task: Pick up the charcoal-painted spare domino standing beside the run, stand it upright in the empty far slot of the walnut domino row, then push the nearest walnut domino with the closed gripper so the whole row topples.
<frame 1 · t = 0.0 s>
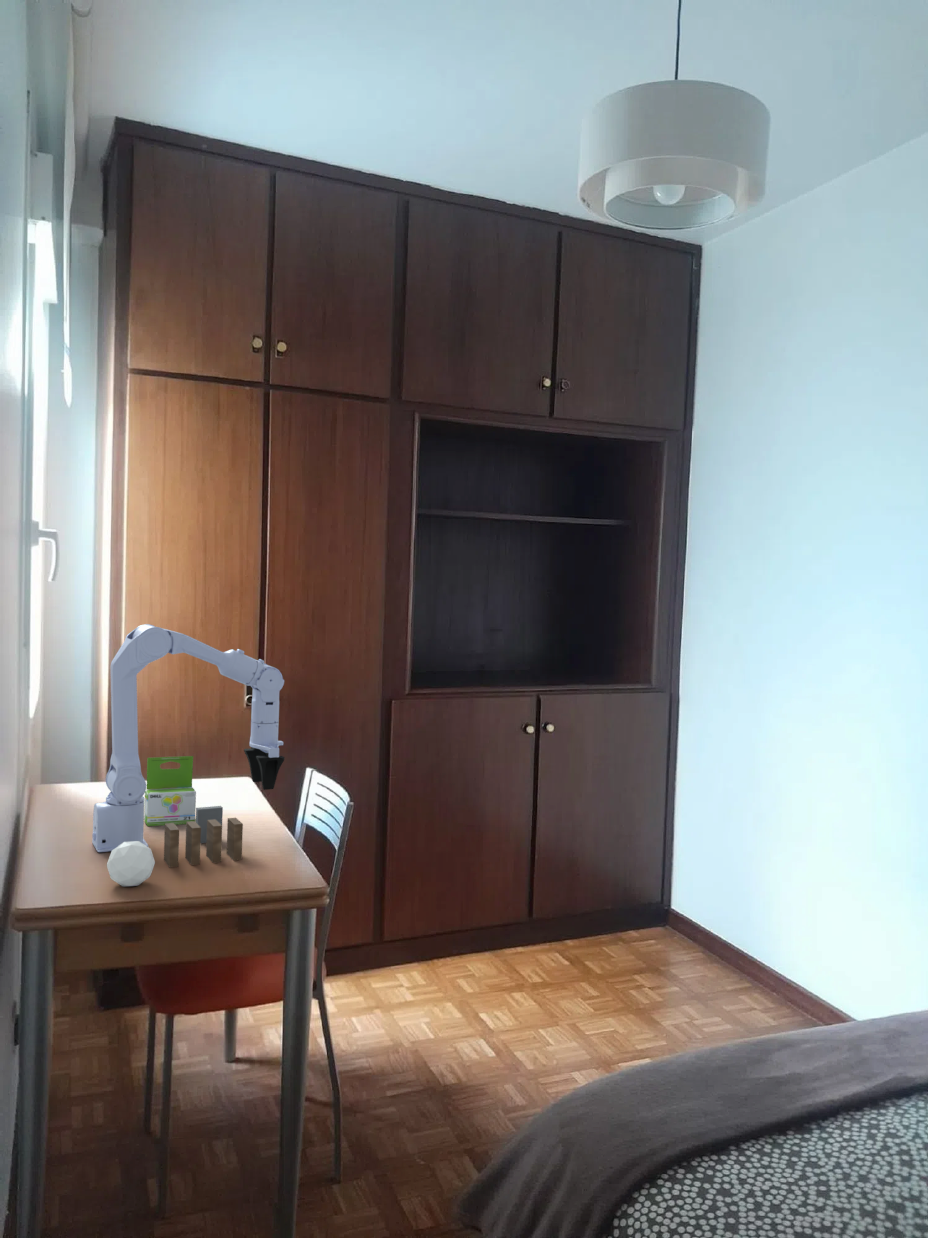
hand: (262, 785, 204), 10 cm above the table, fingers open, 7 cm apart
geometric ball: (130, 886, 168), on the table
domino 1: (170, 863, 181), on the table
domino 4: (234, 856, 187), on the table
spare domino: (208, 841, 196), on the table
domino 3: (213, 858, 185), on the table
ink box: (169, 823, 210), on the table
domino 2: (192, 861, 183), on the table
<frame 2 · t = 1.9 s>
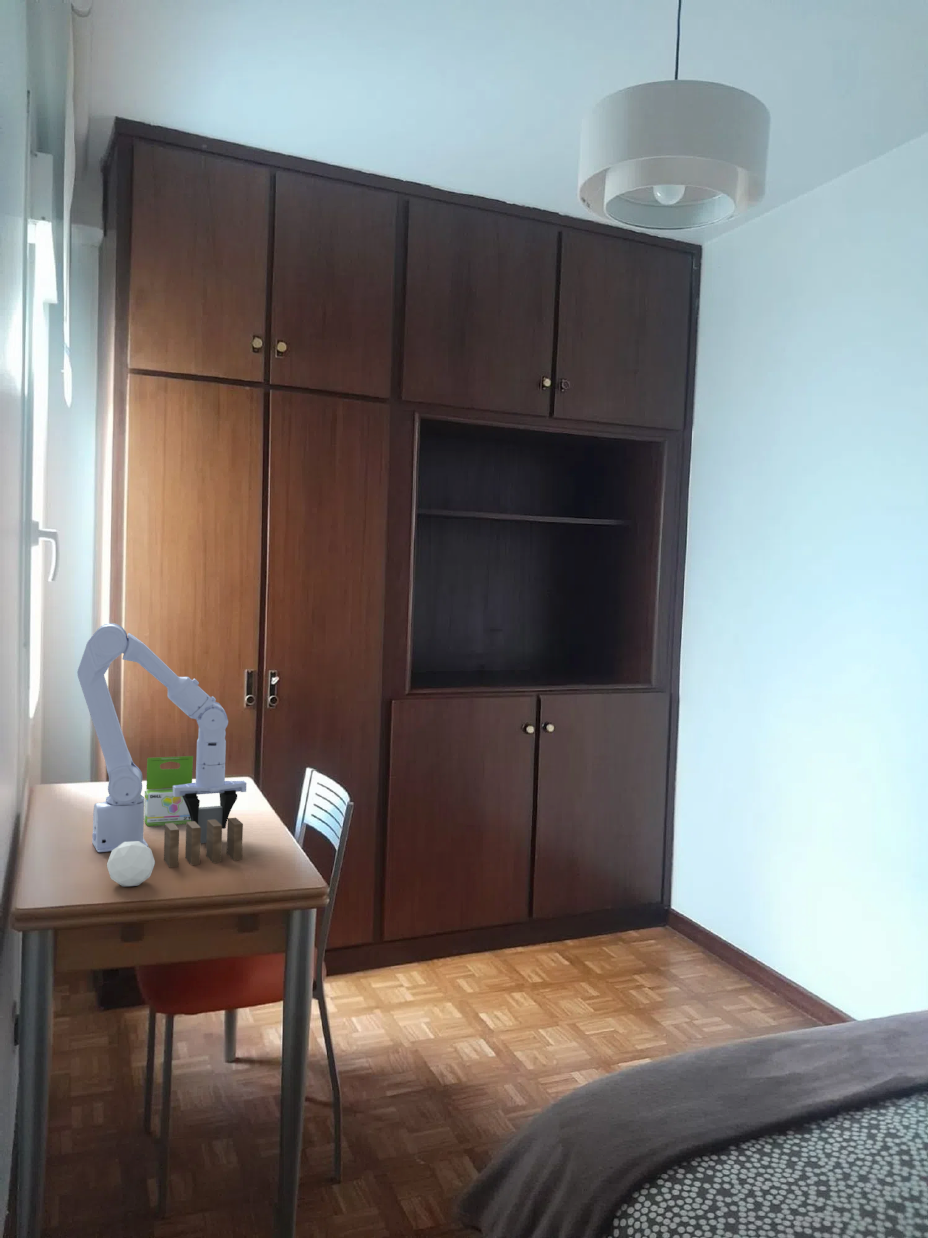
hand: (208, 828, 196), 3 cm above the table, fingers closed on spare domino, 5 cm apart
spare domino: (208, 841, 196), on the table, touching gripper
everything else where it was.
when the fingers open (3 cm above the table, at t = 6.4 s): spare domino stays where it is, on the table.
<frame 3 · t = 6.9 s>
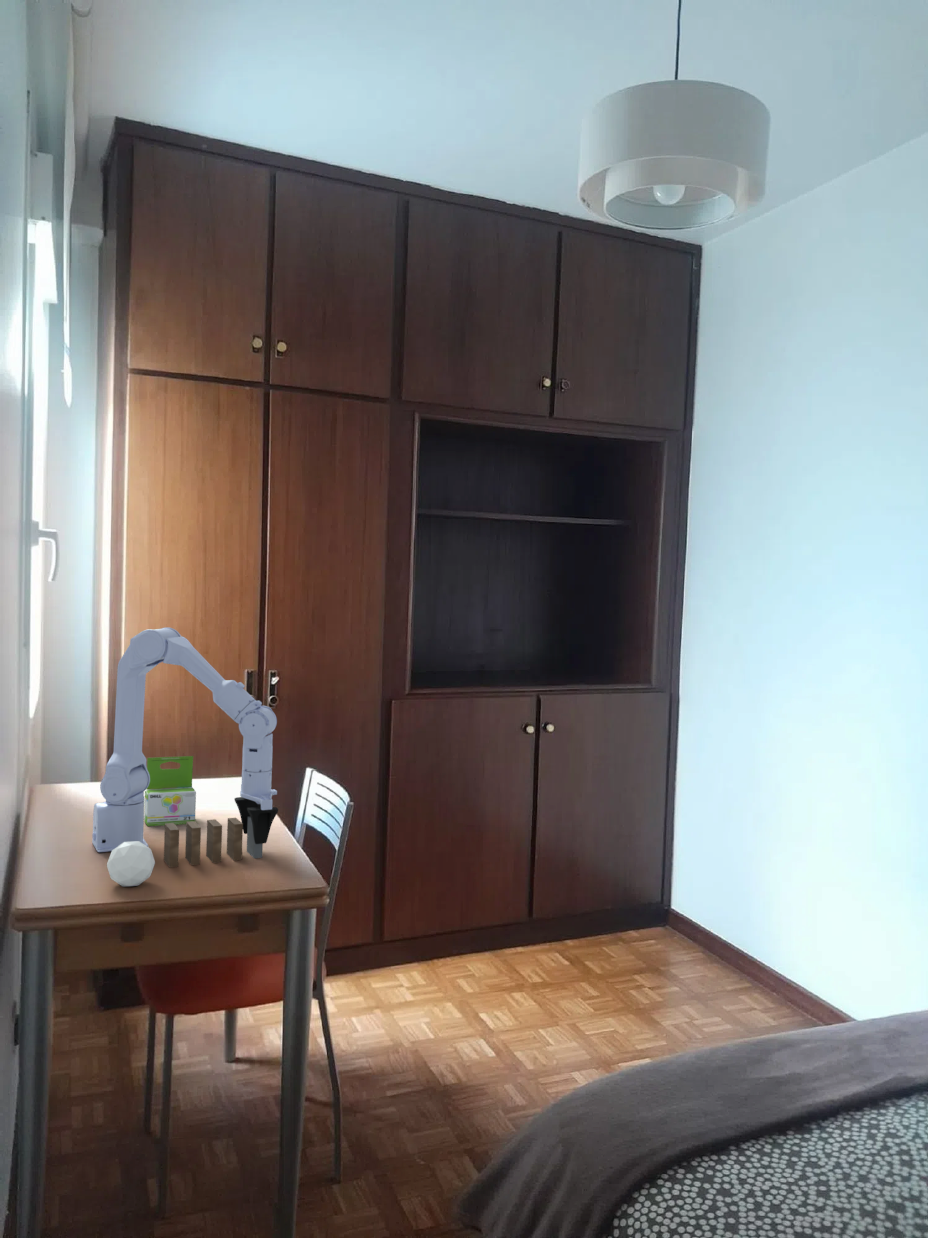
hand: (254, 838, 188), 3 cm above the table, fingers open, 7 cm apart
spare domino: (254, 854, 189), on the table
everything else where it was.
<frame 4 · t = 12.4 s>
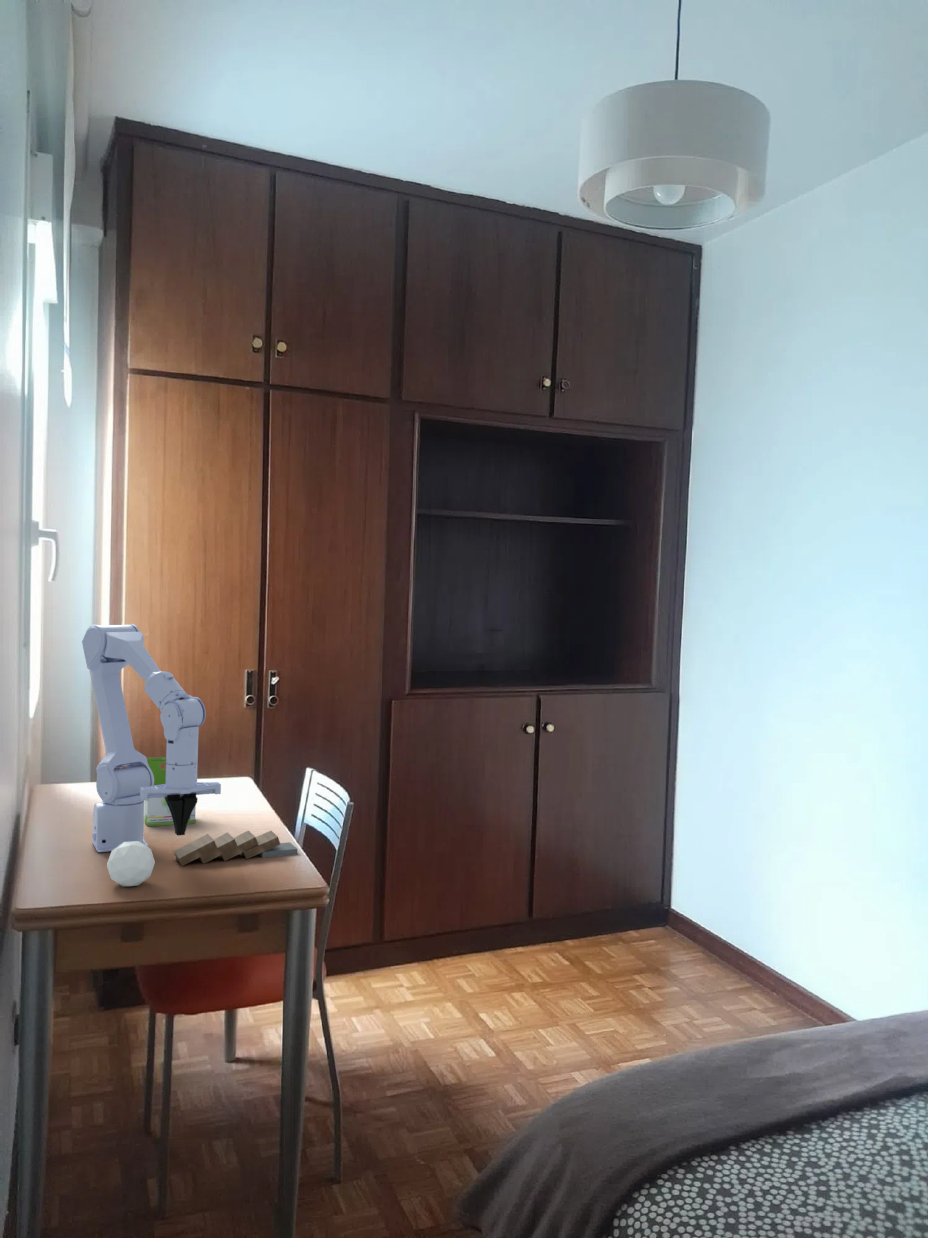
hand: (179, 834, 181), 5 cm above the table, fingers closed
domino 1: (177, 858, 181), point 1 cm above the table, tilted 67°, touching domino 2
domino 4: (242, 852, 187), point 1 cm above the table, tilted 71°, touching domino 3
spare domino: (259, 852, 189), on the table, tilted 90°
domino 3: (220, 854, 185), point 1 cm above the table, tilted 67°, touching domino 2, domino 4
domino 2: (198, 856, 183), point 1 cm above the table, tilted 67°, touching domino 1, domino 3
everything else where it was.
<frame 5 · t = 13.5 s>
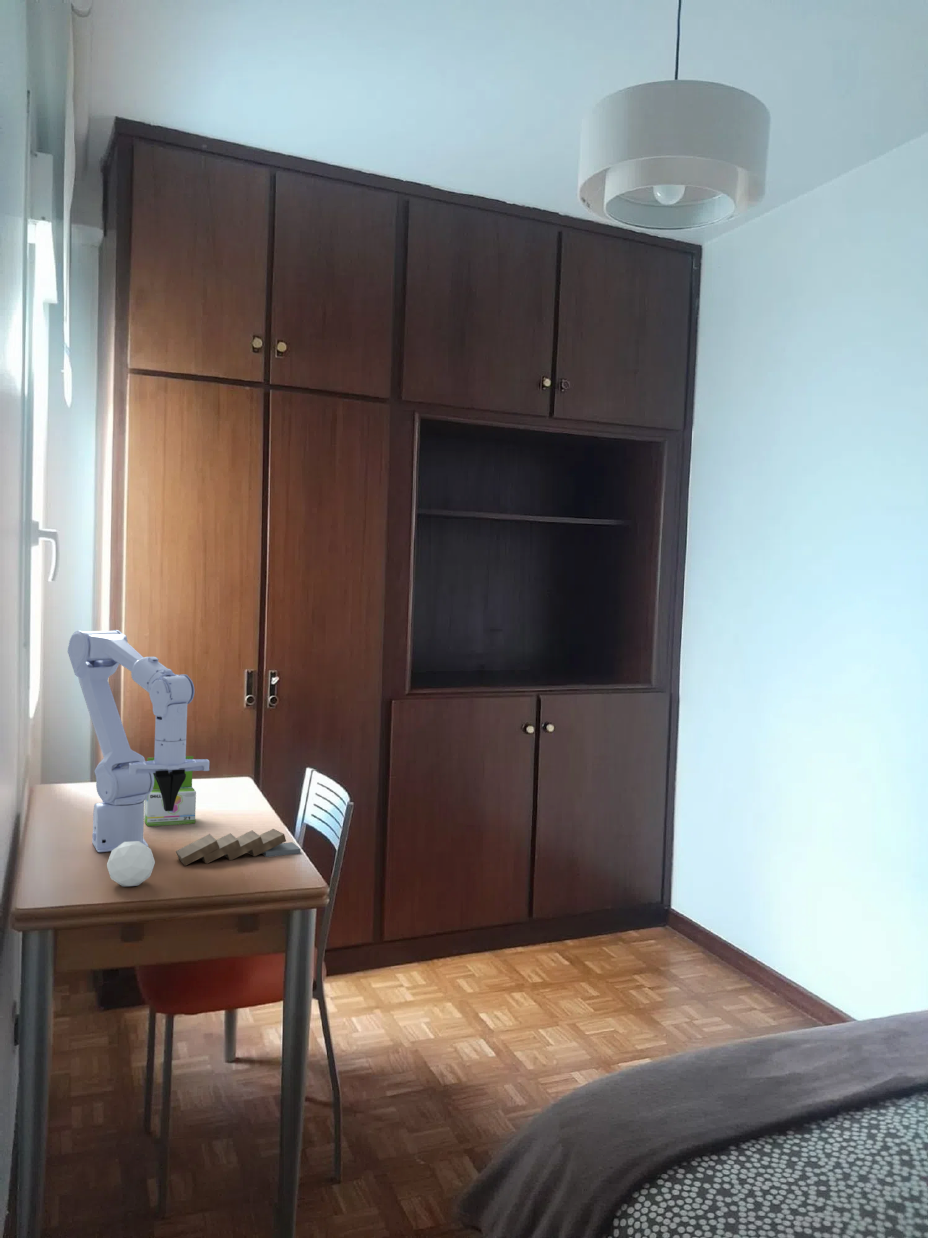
hand: (168, 810, 183), 10 cm above the table, fingers closed
domino 4: (248, 850, 188), point 1 cm above the table, tilted 72°, touching domino 3, spare domino
spare domino: (262, 853, 189), on the table, tilted 90°, touching domino 4
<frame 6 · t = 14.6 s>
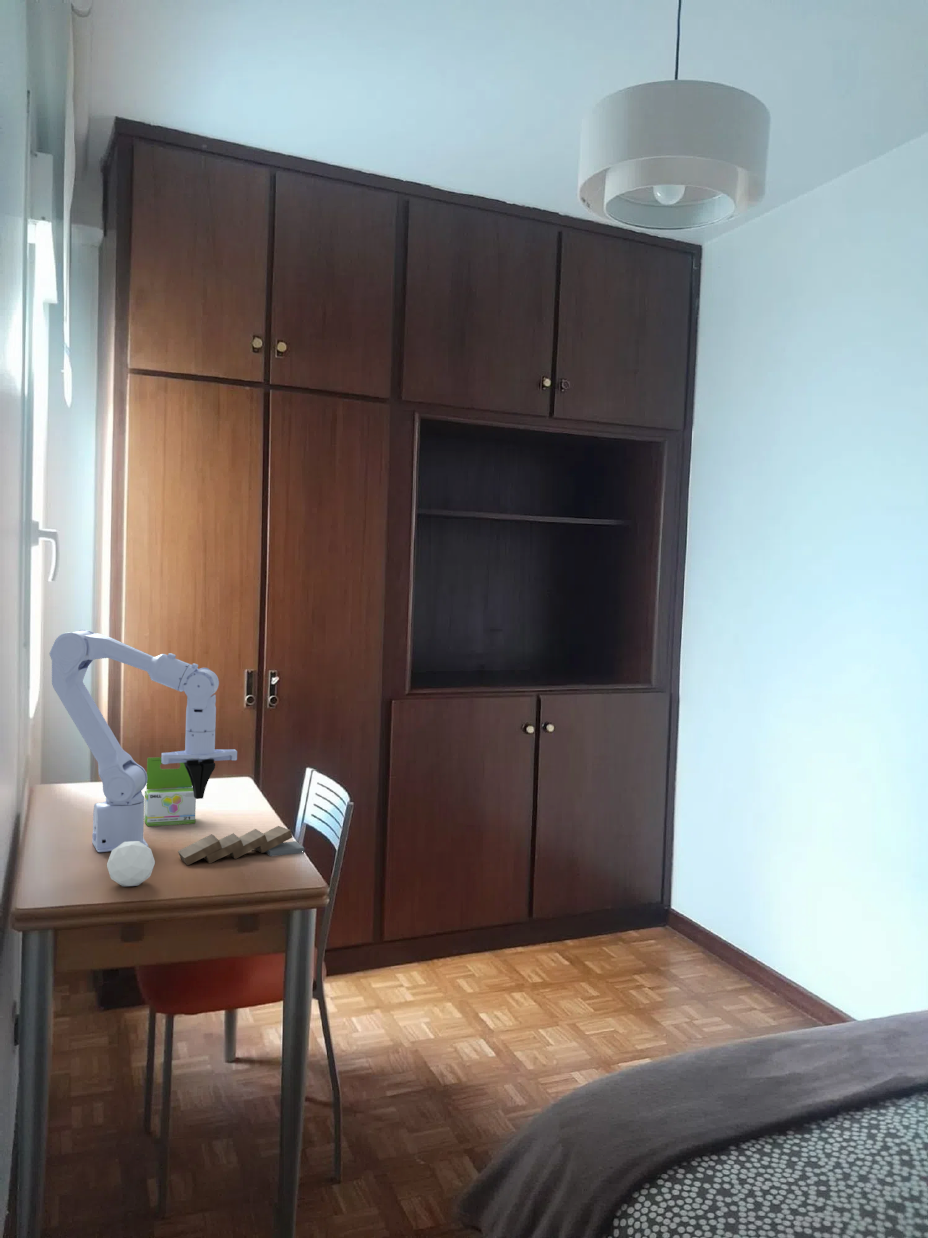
hand: (198, 797, 192), 10 cm above the table, fingers closed
domino 1: (182, 858, 182), point 1 cm above the table, tilted 68°, touching domino 2
domino 4: (255, 847, 190), point 1 cm above the table, tilted 72°, touching domino 3, spare domino
domino 3: (229, 852, 187), point 1 cm above the table, tilted 68°, touching domino 2, domino 4
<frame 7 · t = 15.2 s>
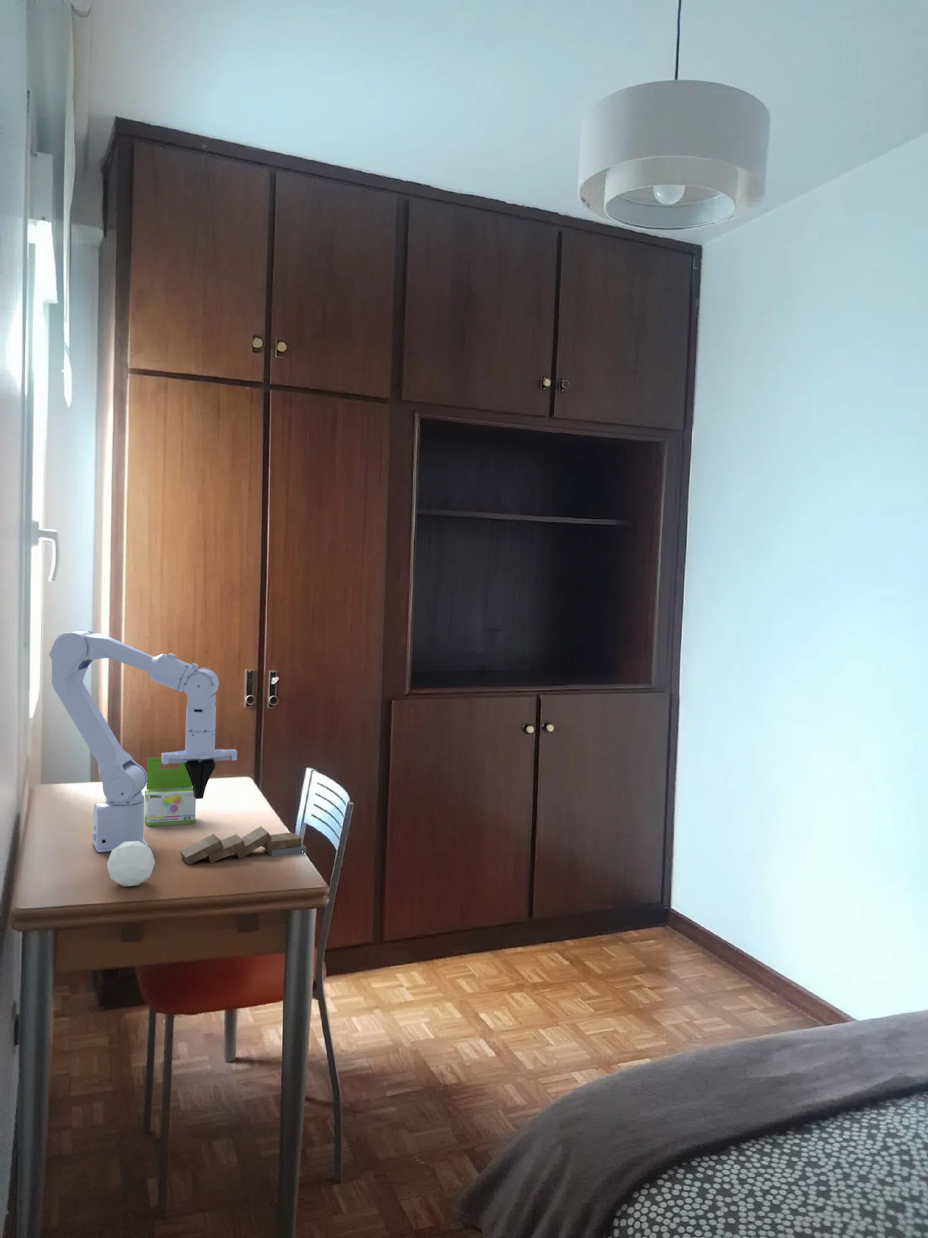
hand: (198, 797, 192), 10 cm above the table, fingers closed
domino 4: (263, 843, 190), point 2 cm above the table, tilted 89°, touching domino 3, spare domino
domino 3: (234, 852, 187), point 1 cm above the table, tilted 63°, touching domino 2, domino 4
at the end: spare domino tilted 90°; spare domino inside the target area (0.4 cm from its centre), on the table; domino 4 tilted 90° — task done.
